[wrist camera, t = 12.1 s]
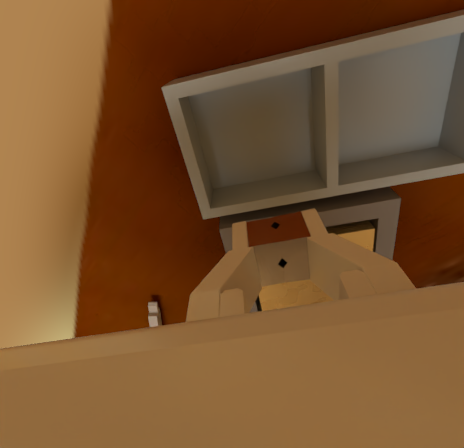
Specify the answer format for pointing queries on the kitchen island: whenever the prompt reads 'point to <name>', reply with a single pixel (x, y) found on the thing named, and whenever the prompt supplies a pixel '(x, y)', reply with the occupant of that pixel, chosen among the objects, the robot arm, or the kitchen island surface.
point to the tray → (325, 118)
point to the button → (305, 289)
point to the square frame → (335, 217)
